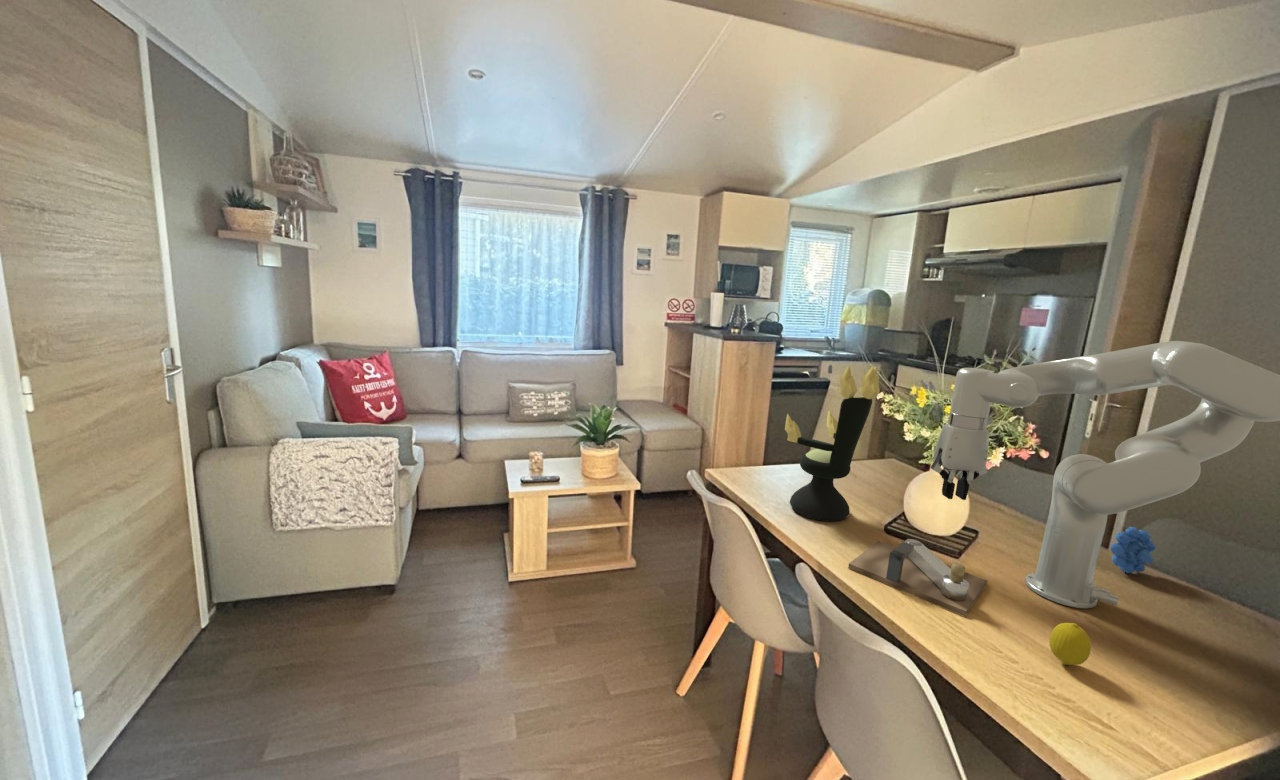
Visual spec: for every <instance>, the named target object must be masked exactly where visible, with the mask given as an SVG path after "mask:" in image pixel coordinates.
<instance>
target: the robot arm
mask: <svg viewBox="0 0 1280 780" xmlns="http://www.w3.org/2000/svg"><path fill="white" fill-rule="evenodd" d="M1164 386H1174V387H1178V388H1180V389H1182V390H1185V391H1186V392H1188V393H1191V394H1193V395H1195V396H1197V397H1199V398H1201V401H1200V403H1199V404H1198V406H1197V407H1196V408H1195V410H1194V411H1192V412H1191V413H1190V414H1188V415H1186V416H1185V417H1182V418H1179V419H1178V420H1176V421H1174V422H1171V423H1168V424H1165V425H1162V426H1160V427H1157V428H1154V429H1152V430H1149V431H1146V432H1143V433H1141V434H1140V433H1139V434H1138V435H1135V436H1132V437H1129V438H1127V439H1126V440H1124V441H1122V442H1120V444H1118V446H1117V447H1116V449H1115V450H1114V458H1115V460H1113V461H1111V462H1106V461H1104V460H1103V459H1101V458H1099V457H1098V456H1095V455H1091V454H1085V453H1084V454H1083V453H1078V454H1074V455H1073V454H1072V455H1070V456H1067V457H1065V458H1064V459H1062V460H1061V461H1060V462H1059V464H1058V465H1057V466H1056V469H1055V471H1054V473H1053V479H1052V480H1053V481H1052V494H1051V502H1050V505H1049V512H1048V516H1047V520H1046V525H1045V529H1044V533H1043V538H1042V542H1041V546H1040V547H1041V549H1040V552H1039V557H1038V561H1037V566H1036V570H1035V572H1031V573H1029V574H1027V575H1026V577H1025V581H1024V582H1025V584H1026V586H1027V587H1028V588H1029V589H1030V590H1031V591H1033V592H1035V593H1036V594H1038V595H1039V596H1041V597H1044V598H1045V599H1047V600H1049V601H1052V602H1055V603H1057V604H1061V605H1064V606H1067V607H1070V608H1071V607H1072V608H1077V609H1090V608H1091V609H1092V608H1094V607H1096V606H1097V605H1098V602H1099V601H1102V602H1104V603H1107V604H1109V605H1113V606H1115V607H1117V606H1118V602H1119V596H1118V595H1113V594H1112V591H1111V590H1108V589H1105V588H1101V587H1098V585H1096V584H1095V580H1096V579H1095V578H1094V575H1095V571H1096V568H1097V563H1098V559H1099V555H1100V550H1101V547H1102V543H1103V539H1104V535H1105V531H1106V528H1107V522H1108V515H1114V514H1115V515H1116V514H1119V513H1123V512H1127V511H1131V510H1133V509H1136V508H1140V507H1142V506H1145V505H1148V504H1152V503H1156V502H1158V501H1159V502H1160V501H1161V500H1164V499H1168V498H1171V497H1173V496H1176V495H1178V494H1182V493H1183V492H1185V491H1187V490H1189V489H1190V488H1191V487H1192V486H1194V485H1195V484H1196V482H1197V481H1198V480H1199V478H1200V476H1201V473H1202V469H1201V467H1202V466H1201V463H1202V462H1206V461H1208V460H1211V459H1213V458H1216V457H1219V456H1221V455H1223V454H1226V453H1228V452H1229V451H1230V452H1231V450H1234V449H1235V448H1236V447H1238V445H1240V444H1241V443H1242V442H1243V441H1244V440H1245V439H1246V438H1247V437H1248V434H1249V433H1250V431H1251V429H1252V428H1253V426H1254V424H1255V422H1262V423H1272V422H1279V421H1280V374H1278V373H1275V372H1273V371H1270V370H1268V369H1266V368H1263V367H1261V366H1258V365H1257V364H1254V363H1251V362H1249V361H1246V360H1244V359H1241V358H1239V357H1236V356H1234V355H1232V354H1229V353H1227V352H1225V351H1222V350H1220V349H1218V348H1216V347H1212V346H1209V345H1207V344H1205V343H1198V342H1191V341H1185V340H1184V341H1183V340H1182V341H1181V340H1171V341H1170V340H1169V341H1161V342H1156V343H1152V344H1150V343H1149V344H1145V345H1139V346H1134V347H1129V348H1125V349H1119V350H1115V351H1114V350H1113V351H1107V352H1102V353H1096V354H1090V355H1083V356H1077V357H1071V358H1064V359H1059V360H1051V361H1044V362H1037V363H1032V364H1026V365H1021V366H1016V367H1010V368H1006V369H1003V370H1001V371H999V372H994V371H992V370H990V369H989V370H988V369H985V368H979V367H978V368H977V367H963V368H960V369H958V371H957V372H956V377H955V380H954V386H953V387H954V388H953V393H952V399H951V404H950V410H949V415H948V420H947V421H948V422H947V424H946V423H945V424H943V426H942V428H941V430H940V433H939V436H938V438H937V443H936V446H935V448H934V454H933V462H932V463H931V465H930V469H931V470H932V471H934V472H936V473H937V474H939V475H940V477H941V479H942V481H943V482H942V488H941V494H942V496H944V497H945V498H946V499H948V500H952V499H953V497H954V493H955V496H956V497H958V498H959V499H961V500H962V501H966V500H967V497H968V494H969V489H970V485H971V484H973V482H974V480H975V479H977V478H978V477H981V476H983V475H986V474H988V469H987V466H986V465H987V462H988V457H989V456H988V455H989V444H990V439H989V438H990V437H989V435H990V434H989V430H988V429H987V428H988V425H992V422H993V420H992V418H989V415H990V411H991V405H992V403H993V404H995V405H996V404H997V405H1001V406H1005V407H1008V408H1017V409H1018V408H1019V409H1020V408H1026V407H1029V406H1031V405H1032V404H1034V403H1035V402H1037V400H1038V398H1039V397H1041V396H1048V395H1058V394H1073V395H1076V394H1077V395H1083V396H1084V395H1085V396H1102V395H1103V396H1105V395H1111V394H1117V393H1118V394H1119V393H1122V392H1123V393H1124V392H1130V391H1131V392H1132V391H1135V390H1143V389H1150V388H1151V389H1152V388H1157V387H1164ZM941 466H942V467H941ZM956 471H961V473H960V479H957V483H956V484H955V482H954V481H955V475H956ZM955 487H956V488H955ZM1098 600H1099V601H1098Z"/></svg>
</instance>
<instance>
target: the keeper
mask: <svg viewBox="0 0 1280 780" xmlns="http://www.w3.org/2000/svg"><path fill="white" fill-rule="evenodd" d="M905 542H906V541H902V542H900V544H898V545H897V546H895V547H896V548H895V549H894V550H893V551H891V552H890V556H889V563H888V569H887V575H886V579H889V580H891V581H894V582H896V583H898V582H899V581H900V580H901V574H902V568H903V562H904V559H905V558H906V557H907V556H908V555H909V554H910V553H911V552H912V551H913V549H914V545H911V544H908V543H905Z"/></svg>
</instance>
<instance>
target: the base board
mask: <svg viewBox="0 0 1280 780" xmlns="http://www.w3.org/2000/svg"><path fill="white" fill-rule="evenodd" d="M896 547H897V546H894V545H891V544H888V543H886V542H883V541H880V540H877V541H876V542H875V543H873V544H872V545H871V546H870V547H868V548H867V549H866V550H864V551H863V552H862V553H860V554H859V555H857V557H855V558H854V559H853V560H851V561H849V563H848V569H849V570H852V571H854V572H857V573H859V574H861V575H864V576H866V577H869V578H871V579H872V580H873V579H874V580H876V581H878V582H881V583H883V584H886V585H887V586H889V587H892V588H896V589H898V590H900V591H902V592H903V593H904V592H905V593H907V594H909V595H912V596H914V597H917V598H919V599H922V600H924V601H926V602H928V603H931V604H934V605H936V606H939V607H941V608H943V609H946V610H948V611H950V612H953V613H954V614H957V615H960V616H962V617H964V618H965V617H967V615H968V614H969V612H970V611H971V610H972V607H973V606H974V604H975V603H976V601H978V598H980V595H981V594H982V593H983V591H984V589H985V588H986V587H987V584H988V579H985V578H983V577H980V576H977V575H975V574H974V575H973V574H971V573H968V572H967V571H966V566H965V565H963V564H962V563H957V562H953V563H952V564H951V566H949V565H947V566H948V567H949V568H950V569H951V573H950V579H952V580H953V581H956V582H963V579H965V580H966V581H967V582H968V583H969V589H968V594H967V599H966V600H955V599H952V598H949V597H947V596H945V595H944V594H943V593H942V592H941V589H940V588H939V587H938V586H937V585H936V584H935V583H934V582H933V581H932V580H931V579H930V578H929V577H928V576H927V575H926V574H925V573H924V572H923V571H922V570H921V569H920V568H919V567H918V566H917V565H916V564H915V563H914V562H913V561H912V560H911V559H910V558H909V557H908V556H907V557H906V558H905V559H904V562H903V568H902V574H901V580H900V581H899V582H898V583H896V582H894V581H891V580H889V579H886V575H887V569H888V563H889V556H890V552H891V551H893V550H894V549H895V548H896Z"/></svg>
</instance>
